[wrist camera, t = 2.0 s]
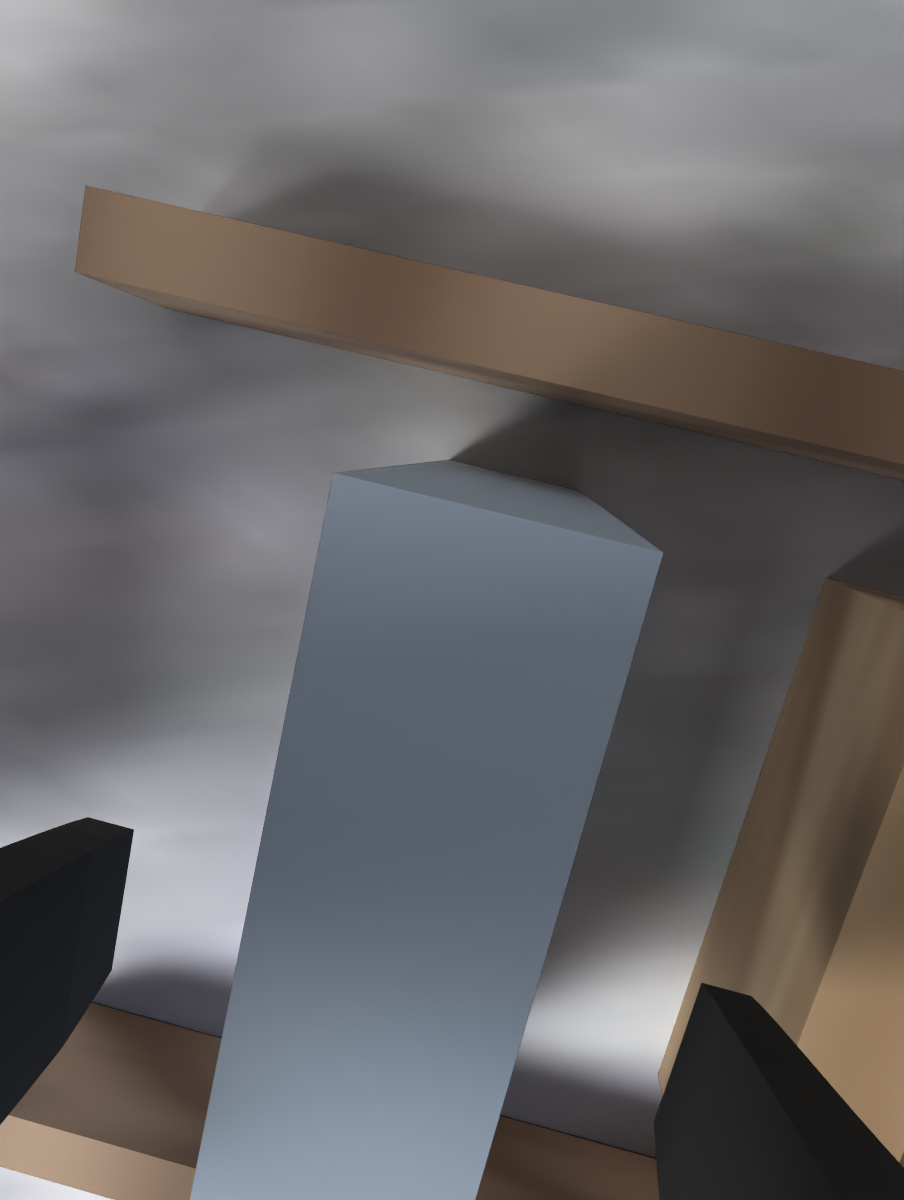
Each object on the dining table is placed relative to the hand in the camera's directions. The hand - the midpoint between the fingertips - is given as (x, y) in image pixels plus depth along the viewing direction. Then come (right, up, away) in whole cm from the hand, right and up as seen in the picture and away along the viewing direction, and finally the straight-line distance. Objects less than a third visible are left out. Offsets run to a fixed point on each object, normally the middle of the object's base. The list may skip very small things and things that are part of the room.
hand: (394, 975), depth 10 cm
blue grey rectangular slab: (+1, +1, +6) cm, 6 cm away
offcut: (+7, 0, +6) cm, 9 cm away
